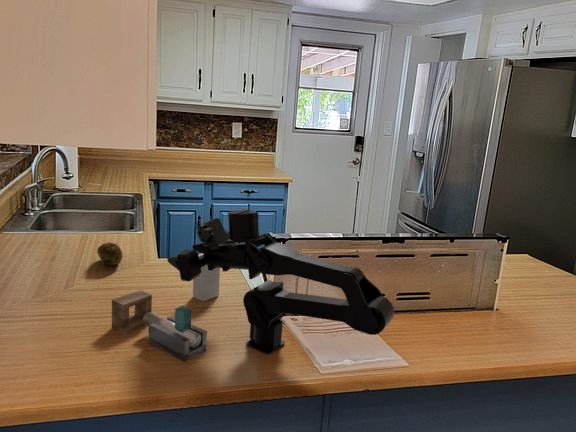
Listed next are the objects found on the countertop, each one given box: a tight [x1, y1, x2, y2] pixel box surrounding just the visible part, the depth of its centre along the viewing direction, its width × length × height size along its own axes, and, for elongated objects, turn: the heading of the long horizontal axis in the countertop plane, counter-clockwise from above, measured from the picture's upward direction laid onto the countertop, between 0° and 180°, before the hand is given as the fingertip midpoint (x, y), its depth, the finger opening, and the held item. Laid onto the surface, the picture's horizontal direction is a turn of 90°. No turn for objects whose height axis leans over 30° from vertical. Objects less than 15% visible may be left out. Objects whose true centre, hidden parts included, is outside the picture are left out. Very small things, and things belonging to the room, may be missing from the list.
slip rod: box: [143, 304, 201, 348], centre depth 106 cm, size 15×3×8 cm, turn 56°
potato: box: [96, 242, 124, 266], centre depth 149 cm, size 8×13×8 cm, turn 5°
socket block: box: [111, 289, 153, 335], centre depth 113 cm, size 4×8×7 cm, turn 146°
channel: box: [147, 315, 208, 363], centre depth 105 cm, size 11×6×4 cm, turn 56°
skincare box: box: [192, 253, 221, 302], centre depth 132 cm, size 6×4×12 cm
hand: (180, 253), depth 118 cm, fingers open, 9 cm apart
